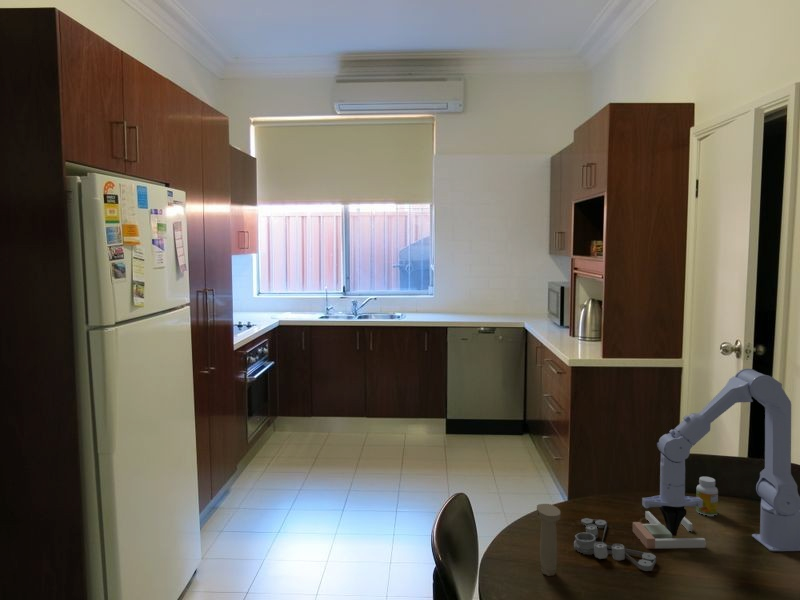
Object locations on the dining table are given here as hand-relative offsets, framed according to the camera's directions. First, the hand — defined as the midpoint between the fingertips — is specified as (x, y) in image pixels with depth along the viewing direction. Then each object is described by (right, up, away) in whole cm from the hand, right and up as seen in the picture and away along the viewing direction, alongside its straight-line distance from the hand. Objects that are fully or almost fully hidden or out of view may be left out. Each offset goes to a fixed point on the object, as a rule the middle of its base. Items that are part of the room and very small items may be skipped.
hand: (671, 533), depth 145 cm
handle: (-35, -3, -14) cm, 38 cm away
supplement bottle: (+17, 0, +15) cm, 23 cm away
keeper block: (-4, -2, 0) cm, 4 cm away
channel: (+1, -1, +4) cm, 4 cm away
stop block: (-7, -2, 0) cm, 7 cm away
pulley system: (-19, -3, -3) cm, 19 cm away
